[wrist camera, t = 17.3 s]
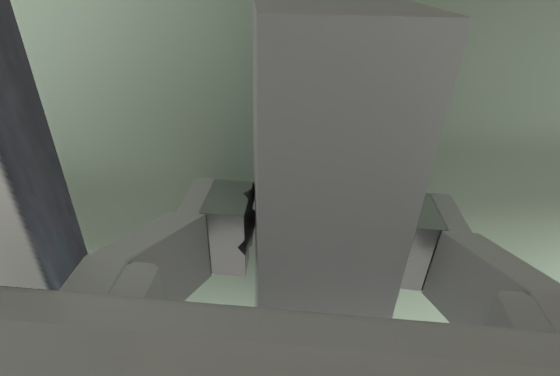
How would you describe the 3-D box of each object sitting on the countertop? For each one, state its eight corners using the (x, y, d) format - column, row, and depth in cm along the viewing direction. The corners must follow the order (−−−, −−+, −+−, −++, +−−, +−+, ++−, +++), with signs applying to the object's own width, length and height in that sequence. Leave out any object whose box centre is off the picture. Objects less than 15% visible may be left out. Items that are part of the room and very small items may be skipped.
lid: (-2, -140, 8) (-311, -260, 4) (891, -96, 10) (1439, -138, 5) (125, 323, 15) (77, 471, 11) (615, 301, 17) (743, 422, 13)
